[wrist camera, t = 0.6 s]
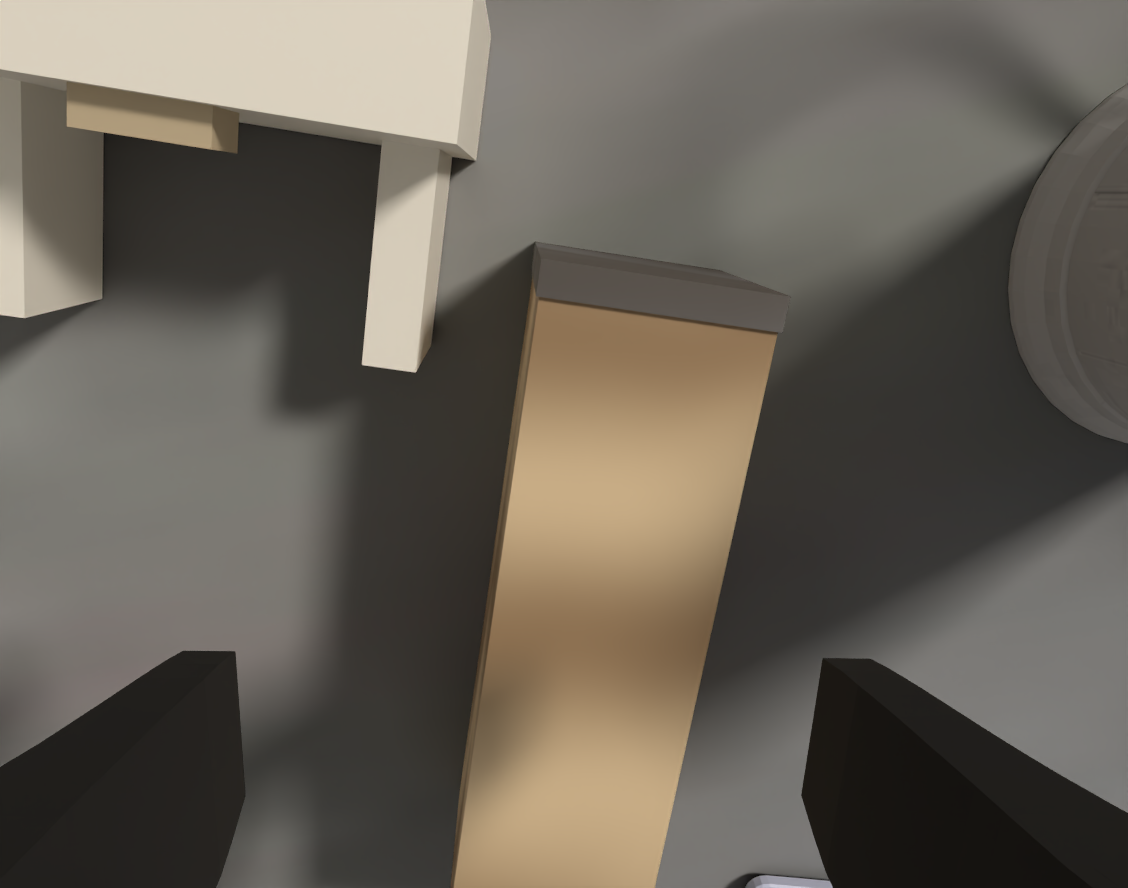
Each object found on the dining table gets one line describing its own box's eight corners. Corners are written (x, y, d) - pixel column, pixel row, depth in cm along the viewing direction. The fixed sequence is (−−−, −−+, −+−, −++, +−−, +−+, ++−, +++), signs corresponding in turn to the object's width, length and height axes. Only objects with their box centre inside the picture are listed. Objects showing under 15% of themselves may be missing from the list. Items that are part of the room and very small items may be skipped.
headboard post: (453, 348, 19) (425, 415, 13) (28, 288, 18) (-199, 331, 12) (490, 36, 17) (478, -43, 11) (23, -46, 16) (-244, -177, 11)
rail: (612, 805, 23) (638, 974, 18) (457, 791, 22) (440, 959, 17) (719, 270, 19) (790, 297, 14) (535, 241, 18) (541, 258, 14)
